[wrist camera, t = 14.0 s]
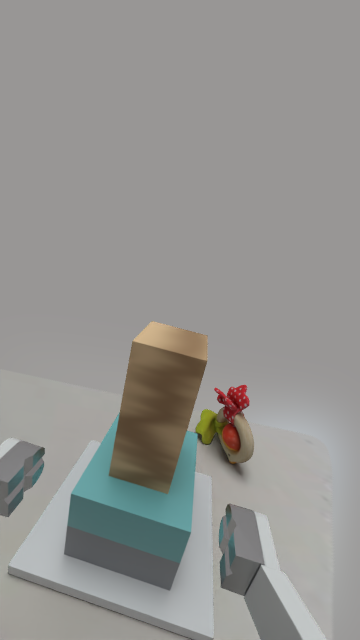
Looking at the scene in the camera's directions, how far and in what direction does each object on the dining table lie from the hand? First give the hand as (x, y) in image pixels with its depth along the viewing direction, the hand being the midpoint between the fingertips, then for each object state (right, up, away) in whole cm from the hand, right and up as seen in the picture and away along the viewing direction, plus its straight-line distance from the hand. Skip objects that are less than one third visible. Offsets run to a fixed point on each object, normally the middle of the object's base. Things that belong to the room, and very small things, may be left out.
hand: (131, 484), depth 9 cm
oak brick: (-1, -6, +10) cm, 12 cm away
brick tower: (-3, -13, +13) cm, 18 cm away
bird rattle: (+8, -13, +24) cm, 28 cm away
